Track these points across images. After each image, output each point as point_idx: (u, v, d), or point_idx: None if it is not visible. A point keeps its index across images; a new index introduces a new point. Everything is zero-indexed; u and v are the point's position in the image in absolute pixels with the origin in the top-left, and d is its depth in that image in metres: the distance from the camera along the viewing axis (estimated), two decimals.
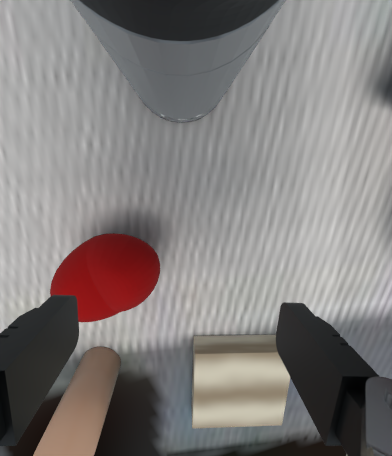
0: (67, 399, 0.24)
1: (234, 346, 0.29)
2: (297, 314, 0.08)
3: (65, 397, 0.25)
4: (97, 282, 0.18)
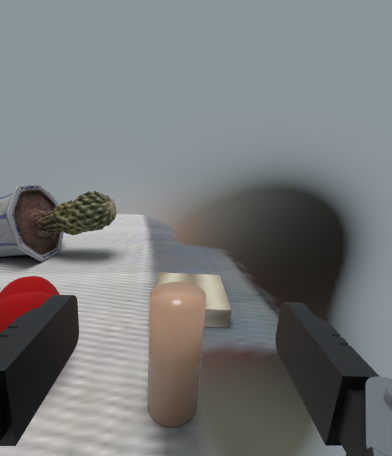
0: (150, 352, 0.22)
1: None
2: (297, 314, 0.08)
3: (152, 359, 0.21)
4: (15, 291, 0.25)
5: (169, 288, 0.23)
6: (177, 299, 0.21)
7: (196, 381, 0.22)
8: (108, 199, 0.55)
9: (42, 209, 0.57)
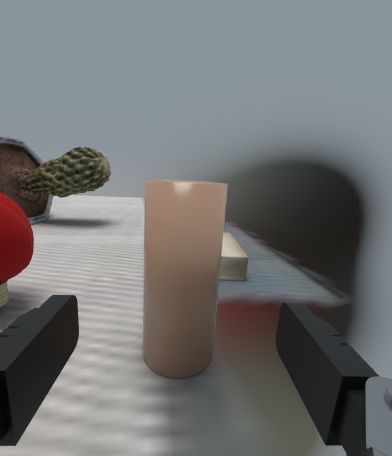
0: (145, 266, 0.15)
1: None
2: (297, 314, 0.08)
3: (148, 275, 0.14)
4: None
5: None
6: (185, 182, 0.14)
7: (213, 312, 0.15)
8: (101, 155, 0.49)
9: (26, 168, 0.51)
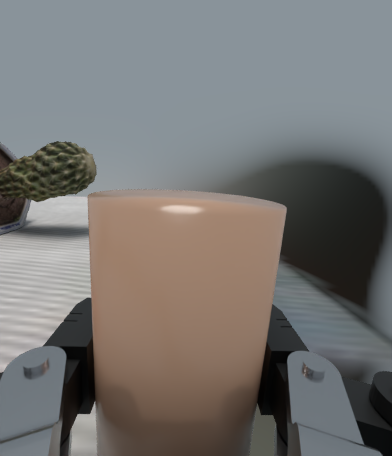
0: (95, 391, 0.07)
1: None
2: None
3: (100, 416, 0.06)
4: None
5: (159, 192, 0.08)
6: (186, 201, 0.06)
7: None
8: (84, 151, 0.41)
9: None
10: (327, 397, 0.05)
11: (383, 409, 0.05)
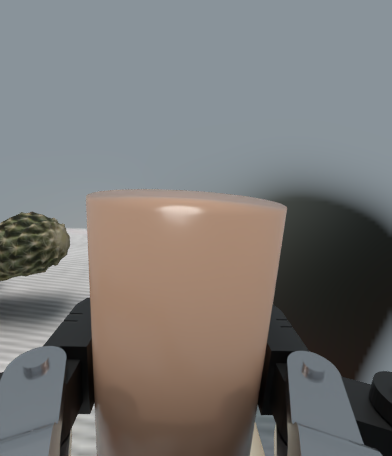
0: (94, 392, 0.06)
1: None
2: None
3: (99, 418, 0.06)
4: None
5: (158, 192, 0.07)
6: (186, 201, 0.06)
7: None
8: (52, 225, 0.34)
9: None
10: (327, 397, 0.05)
11: (383, 409, 0.05)
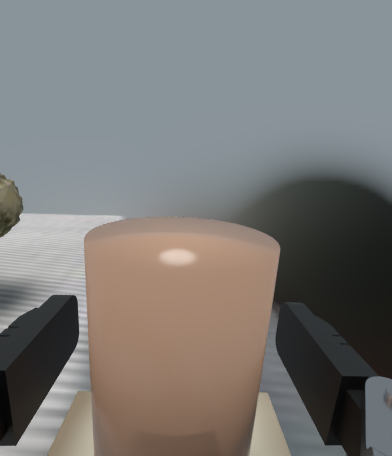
0: None
1: None
2: (297, 314, 0.08)
3: (97, 451, 0.06)
4: None
5: (155, 224, 0.08)
6: (181, 242, 0.06)
7: None
8: None
9: None
10: None
11: None
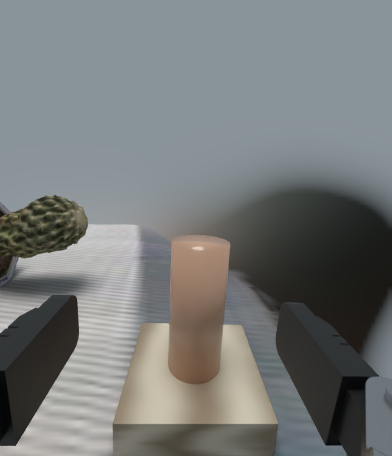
0: (172, 303, 0.21)
1: None
2: (297, 314, 0.08)
3: (174, 310, 0.20)
4: None
5: (190, 238, 0.22)
6: (200, 244, 0.20)
7: (220, 335, 0.21)
8: (73, 206, 0.38)
9: None
10: None
11: None
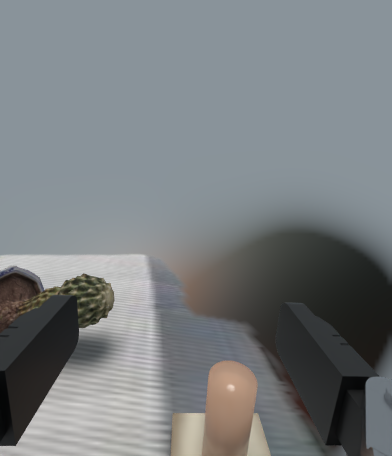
0: (208, 429, 0.25)
1: None
2: (297, 314, 0.08)
3: (210, 436, 0.25)
4: None
5: (222, 370, 0.26)
6: (233, 385, 0.24)
7: (247, 452, 0.26)
8: (103, 287, 0.42)
9: (17, 297, 0.44)
10: None
11: None
